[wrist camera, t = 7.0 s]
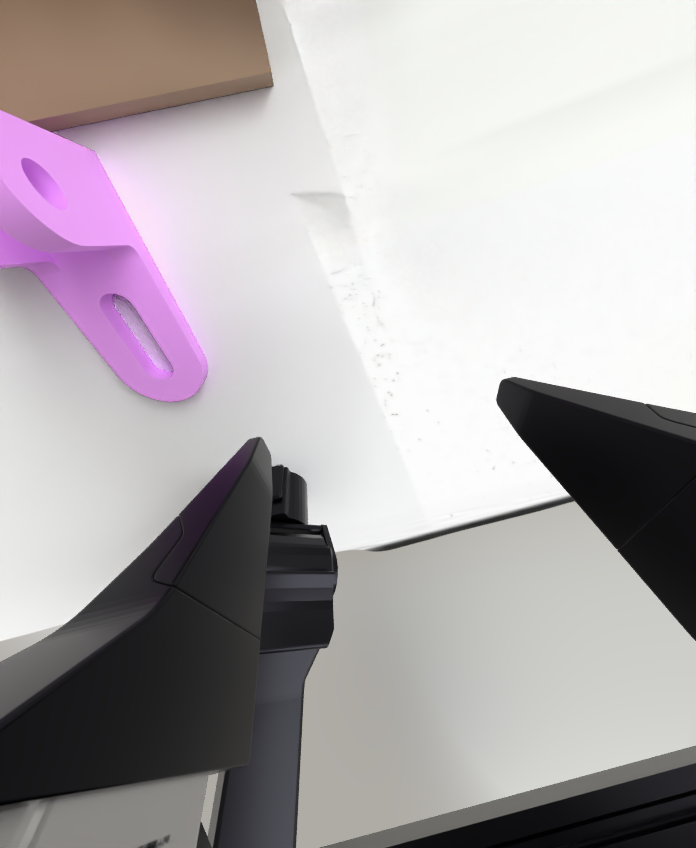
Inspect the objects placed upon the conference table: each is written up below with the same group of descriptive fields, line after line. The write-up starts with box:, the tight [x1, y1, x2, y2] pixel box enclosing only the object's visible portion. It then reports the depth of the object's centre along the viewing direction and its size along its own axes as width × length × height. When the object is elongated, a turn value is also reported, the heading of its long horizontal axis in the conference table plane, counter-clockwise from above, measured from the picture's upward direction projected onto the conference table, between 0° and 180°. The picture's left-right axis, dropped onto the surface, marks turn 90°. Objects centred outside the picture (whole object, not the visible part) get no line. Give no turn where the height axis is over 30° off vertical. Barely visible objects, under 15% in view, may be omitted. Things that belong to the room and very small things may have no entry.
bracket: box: [0, 110, 208, 402], centre depth 13 cm, size 13×6×7 cm, turn 9°
